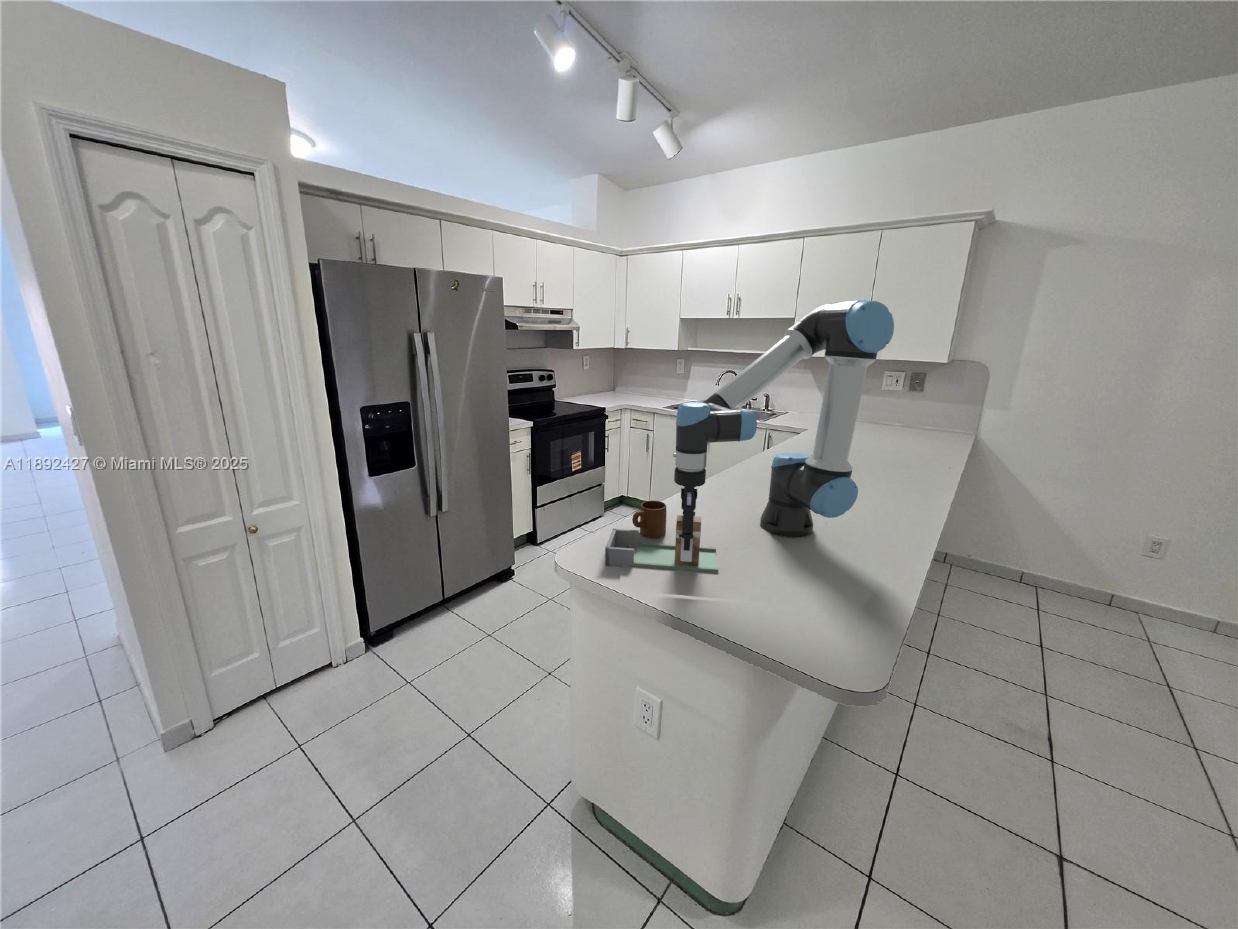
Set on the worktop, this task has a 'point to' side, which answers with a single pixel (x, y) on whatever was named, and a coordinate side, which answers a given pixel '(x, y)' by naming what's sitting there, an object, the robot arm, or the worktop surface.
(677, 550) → the block
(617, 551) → the pitch
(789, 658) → the worktop surface
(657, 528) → the mug
